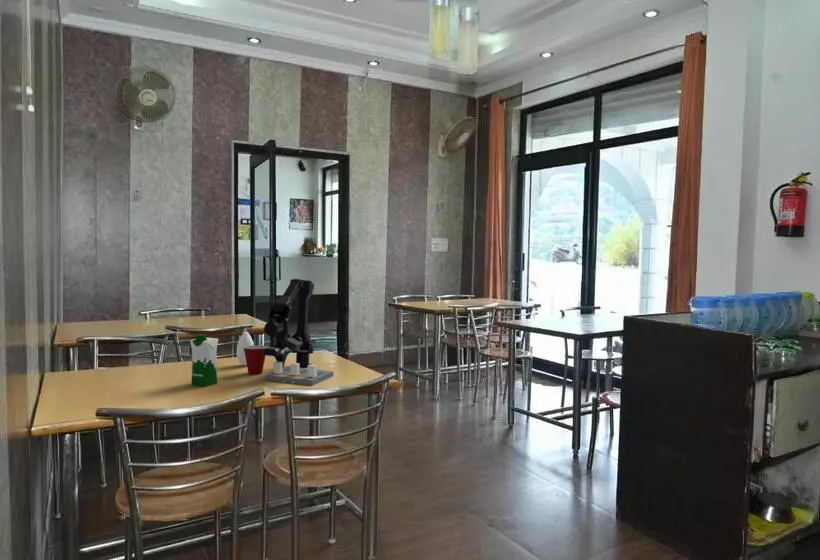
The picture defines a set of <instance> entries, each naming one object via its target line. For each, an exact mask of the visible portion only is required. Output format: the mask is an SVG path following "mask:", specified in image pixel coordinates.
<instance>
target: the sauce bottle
mask: <svg viewBox="0 0 820 560" xmlns="http://www.w3.org/2000/svg"><path fill="white" fill-rule="evenodd" d="M254 344H255V343H254V340H253V339H252V336H251V335H250V333H249V332H248V331H247V326H245V329H244V331H243V332H242V335H241V336H240V337H239V340H238V341H237V347H236V358H237V360H238V363H239V364H241V366H244V365H245V366H244V367H247V366H246V365H247V364H246V357H245V352H244V349H243V346H252V345H254Z"/></svg>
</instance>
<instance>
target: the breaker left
mask: <svg viewBox="0 0 820 560" xmlns="http://www.w3.org/2000/svg"><path fill="white" fill-rule="evenodd" d="M317 366H318V365H316V364H312V365H308V367H307V369H308V375H307V377H313V378H314V377H316V376H317V370H318V367H317Z"/></svg>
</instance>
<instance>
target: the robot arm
mask: <svg viewBox="0 0 820 560" xmlns="http://www.w3.org/2000/svg"><path fill="white" fill-rule="evenodd" d="M314 289H315V285H314V283H313V281H312V280H310V279H309V280H307V279H301V278H291V279H290V281H289V285H288V286H287V288H286V289H285V291H284V293H283V294H282V296H281V297H280V298H278V299H276V300H275V301H274V302H273V304H272V305H271V307H270V311H269V314H268V317H267V319H268V322H266V324H265V325H264V327H263V330H264V331H263V332H264V333H265V334H266V335H267V336H268V337H272V338H274V343H273V344H272V346H268V348H265V349H264V350H263V355H266V356H267V357H268V356H269V357H274V359H275V361H279V362H283V365H282V369H284V368H285V367H284V366H285V363H286V361H287V358H288V355H290V354H291V353H292V354H294V353H295V354H296V355H295V363H300V368H308V365H313V363H310V355H311V354H314V349H315V348H314V346H313V343H312V341H311V336H310V334H309V332H308V324H309V323H308V319H309V301H310V298H311V296H312V295H313V292H314ZM296 298H297V311H296V315H297V316H296V331H295V333H294V334H291V333H289V320H290V318H291V317H290V315H291V313H292V311H293V307H292V304H293V302H294V301H295V299H296Z"/></svg>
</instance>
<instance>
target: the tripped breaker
mask: <svg viewBox="0 0 820 560" xmlns="http://www.w3.org/2000/svg"><path fill="white" fill-rule="evenodd" d="M282 365H283V362H279V361H277V360H275V361H273V372H272V373H275V374H280V373H283V371H282V369H283V368H282Z"/></svg>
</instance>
